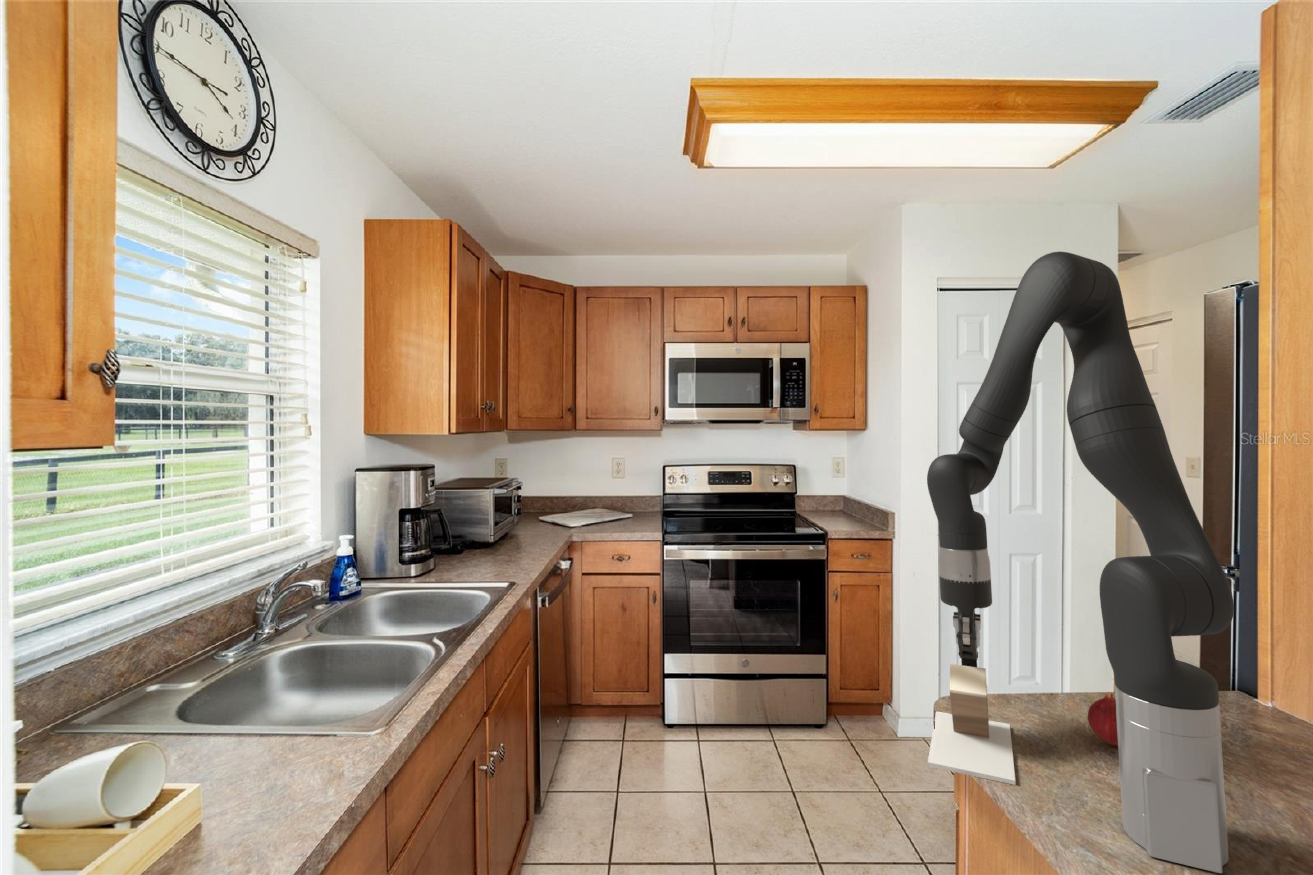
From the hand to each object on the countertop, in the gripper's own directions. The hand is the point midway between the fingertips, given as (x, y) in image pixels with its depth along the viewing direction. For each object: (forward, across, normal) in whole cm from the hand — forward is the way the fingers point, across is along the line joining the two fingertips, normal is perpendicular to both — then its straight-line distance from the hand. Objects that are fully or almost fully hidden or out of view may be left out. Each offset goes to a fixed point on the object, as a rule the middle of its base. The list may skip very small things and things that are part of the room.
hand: (970, 680), depth 94 cm
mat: (+8, -5, 0) cm, 10 cm away
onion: (+9, +4, -19) cm, 21 cm away
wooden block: (+7, 0, 0) cm, 7 cm away
